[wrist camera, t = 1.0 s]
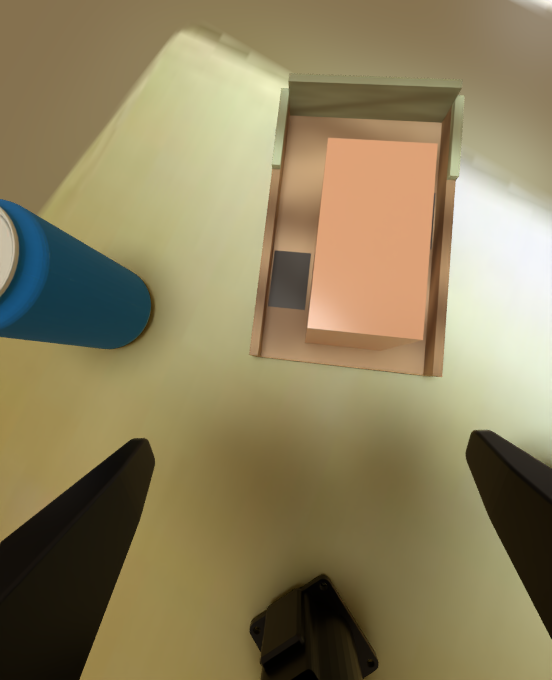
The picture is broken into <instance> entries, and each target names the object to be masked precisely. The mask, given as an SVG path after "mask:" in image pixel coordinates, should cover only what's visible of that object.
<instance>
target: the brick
mask: <svg viewBox="0 0 552 680" xmlns="http://www.w3.org/2000/svg"><path fill="white" fill-rule="evenodd" d="M437 148H438V144H437V143H418V142H399V141H380V140H362V139H343V138H328V142H327V150H326V159H325V167H324V175H323V183H322V191H321V200H320V208H319V216H318V225H317V235H316V244H315V253H314V262H313V271H312V280H311V290H310V299H309V308H308V317H307V326H306V335H305V343H313V344H322V345H331V346H340V347H349V348H358V349H367V350H377V351H382V350H386V349H390V348H394V347H398V346H401V345H405V344H409V343H413V342H417V341H421V340H423V334H424V321H425V308H426V294H427V281H428V268H429V254H430V241H431V228H432V214H433V201H434V188H435V174H436V161H437Z"/></svg>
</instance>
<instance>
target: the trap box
mask: <svg viewBox="0 0 552 680" xmlns="http://www.w3.org/2000/svg"><path fill="white" fill-rule="evenodd" d="M461 89H462V80H457V79H455V80H454V79H430V78H402V77H401V78H400V77H374V76H346V75H345V76H344V75H320V74H319V75H318V74H292V73H290V74H289V89H287V88H281V95H280V103H279V111H278V119H277V127H276V135H275V143H274V151H273V159H272V177H271V185H270V193H269V201H268V209H267V217H266V225H265V233H264V241H263V249H262V257H261V265H260V273H259V281H258V289H257V297H256V305H255V313H254V321H253V329H252V337H251V345H250V353H249V355H252V356H257V357H266V358H275V359H283V360H292V361H301V362H310V363H318V364H327V365H336V366H344V367H353V368H362V369H371V370H379V371H388V372H397V373H405V374H414V375H423V376H436V377H442V370H443V355H444V341H445V326H446V312H447V297H448V282H449V268H450V253H451V239H452V224H453V210H454V195H455V181H456V179H457V178H458V177H459V170H460V155H461V141H462V125H463V111H464V96H460V95H458V94H459V92H460V90H461ZM328 138H343V139H362V140H380V141H399V142H418V143H437V144H438V148H437V161H436V174H435V188H434V201H433V214H432V228H431V241H430V254H429V268H428V281H427V294H426V308H425V321H424V334H423V340H421V341H417V342H413V343H409V344H405V345H401V346H398V347H394V348H390V349H386V350H382V351H377V350H367V349H358V348H349V347H340V346H331V345H322V344H313V343H305V335H306V326H307V317H308V308H309V299H310V290H311V280H312V271H313V262H314V253H315V244H316V235H317V225H318V216H319V208H320V200H321V191H322V183H323V175H324V167H325V159H326V150H327V142H328Z"/></svg>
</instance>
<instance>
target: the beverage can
mask: <svg viewBox="0 0 552 680" xmlns="http://www.w3.org/2000/svg"><path fill="white" fill-rule="evenodd" d="M150 312H151V299H150V295H149V291H148V289H147V287H146V285H145V284H144V282H143V281H142V280H141V279H140V278H139V277H138V276H137V275H136V274H134V273H133V272H131V271H130V270H128V269H126V268H125V267H123V266H121V265H120V264H118V263H116V262H114V261H113V260H111V259H109V258H108V257H106V256H104V255H103V254H101V253H99V252H98V251H96V250H94V249H93V248H91V247H89V246H87V245H86V244H84V243H82V242H81V241H79V240H77V239H76V238H74V237H72V236H71V235H69V234H67V233H66V232H64V231H62V230H60V229H59V228H57V227H55V226H54V225H52V224H50V223H49V222H47V221H45V220H44V219H42V218H40V217H39V216H37V215H35V214H33V213H32V212H30V211H28V210H27V209H25V208H23V207H21V206H20V205H18V204H15V203H13V202H10V201H6V200H3V199H0V337H6V338H15V339H23V340H32V341H41V342H49V343H58V344H67V345H75V346H84V347H93V348H101V349H115V348H119V347H122V346H125V345H127V344H129V343H130V342H132V341H133V340H135V339H136V338H137V337H138V336H139V335H140V334H141V332H142V331H143V330H144V328H145V326H146V324H147V322H148V320H149V316H150Z"/></svg>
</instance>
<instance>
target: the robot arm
mask: <svg viewBox="0 0 552 680" xmlns="http://www.w3.org/2000/svg"><path fill="white" fill-rule="evenodd" d="M466 460H467V463H468V465H469V468H470V470H471V473H472V476H473V478H474V481H475V483H476V486H477V488H478V491H479V493H480V496H481V498H482V501H483V503H484V506H485V508H486V511H487V513H488V516H489V518H490V520H491V522H492V524H493V526H494V528H495V530H496V532H497V534H498V536H499V538H500V540H501V542H502V544H503V546H504V548H505V550H506V551H507V553H508V555H509V557H510V559H511V561H512V563H513V565H514V567H515V569H516V571H517V573H518V575H519V577H520V579H521V581H522V583H523V585H524V587H525V588H526V590H527V592H528V594H529V596H530V598H531V600H532V602H533V604H534V606H535V608H536V610H537V612H538V614H539V616H540V618H541V620H542V622H543V623H544V625H545V627H546V629H547V631H548V633H549V635H550V637H551V639H552V469H551V468H550V467H548V466H547V465H545V464H543V463H542V462H540V461H539V460H537V459H536V458H534V457H532V456H531V455H529V454H528V453H526V452H524V451H523V450H521V449H520V448H518V447H516V446H515V445H513V444H512V443H510V442H509V441H507V440H505V439H504V438H502V437H501V436H499V435H497V434H496V433H494V432H492V431H490V430H474V431H473V432H472V433H471V435H470V439H469V442H468V445H467V449H466ZM154 466H155V458H154V455H153V452H152V449H151V446H150V444H149V441H148V440H147V439H145V438H134V439H131V440H130V441H128V442H127V443H126V444H125V445H123V446H122V447H121V448H119V449H118V450H117V451H116V452H114V453H113V454H112V455H111V456H109V457H108V458H107V459H106V460H104V461H103V462H102V463H100V464H99V465H98V466H97V467H95V468H94V469H93V470H92V471H90V472H89V473H88V474H86V475H85V476H84V477H83V478H81V479H80V480H79V481H78V482H76V483H75V484H74V485H72V486H71V487H70V488H69V489H67V490H66V491H65V492H64V493H62V494H61V495H60V496H59V497H57V498H56V499H55V500H53V501H52V502H51V503H50V504H48V505H47V506H46V507H45V508H43V509H42V510H41V511H39V512H38V513H37V514H36V515H34V516H33V517H32V518H31V519H29V520H28V521H27V522H26V523H24V524H23V525H22V526H20V527H19V528H18V529H17V530H15V531H14V532H13V533H12V534H10V535H9V536H8V537H6V538H5V539H4V540H3V541H2V542H1V543H0V680H79V679H80V677H81V674H82V671H83V669H84V666H85V663H86V661H87V658H88V655H89V653H90V650H91V648H92V645H93V642H94V640H95V637H96V634H97V632H98V629H99V627H100V624H101V621H102V619H103V616H104V613H105V611H106V608H107V605H108V603H109V600H110V598H111V595H112V592H113V590H114V587H115V584H116V582H117V579H118V577H119V574H120V571H121V569H122V566H123V563H124V561H125V558H126V555H127V553H128V550H129V548H130V545H131V542H132V540H133V537H134V534H135V532H136V529H137V526H138V524H139V521H140V518H141V514H142V511H143V507H144V503H145V500H146V496H147V492H148V489H149V485H150V481H151V478H152V474H153V470H154ZM321 583H326V584H327V585H326V586H324V587H323V586H321V585H320V584H321ZM256 626H257V627H259V628H260V629H259V630H257V629H255V628H254V627H256ZM250 634H251V636H252V638H253V639H254V641H255V643H256V645H257V646H258V648H259V650H260V652H261V657H260V664H261V666H262V672H261V680H363V678H365V677H366V676H368V675H369V674H371V673H372V672H374V671H375V670H376V669H377V668H378V660H377V656H376V654H375V652H374V650H373V649H372V647H371V646H370V644H369V642H368V641H367V639H366V638H365V636H364V634H363V633H362V631H361V629H360V628H359V626H358V625H357V623H356V621H355V620H354V618H353V616H352V615H351V613H350V612H349V610H348V608H347V607H346V605H345V603H344V602H343V600H342V599H341V597H340V595H339V594H338V592H337V591H336V589H335V587H334V586H333V584H332V582H331V581H330V579H329V578H328V577H327V576H325V575H321V576H319V577H317V578H315V579H314V580H312V581H311V582H309V583H308V584H306V585H305V586H303V587H302V588H300V589H299V588H296V589H294V590H293V591H291V592H290V593H288V594H287V595H285V596H284V597H282V598H281V599H279V600H278V601H276V602H274V603H273V604H271V605H270V606H268V608H267V611H265V612H264V613H262V614H261V615H259V616H257V617H256V618H254V619H253V620H252V621H251V624H250ZM369 659H372V660H373V661H372V662H368V660H369Z"/></svg>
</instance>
